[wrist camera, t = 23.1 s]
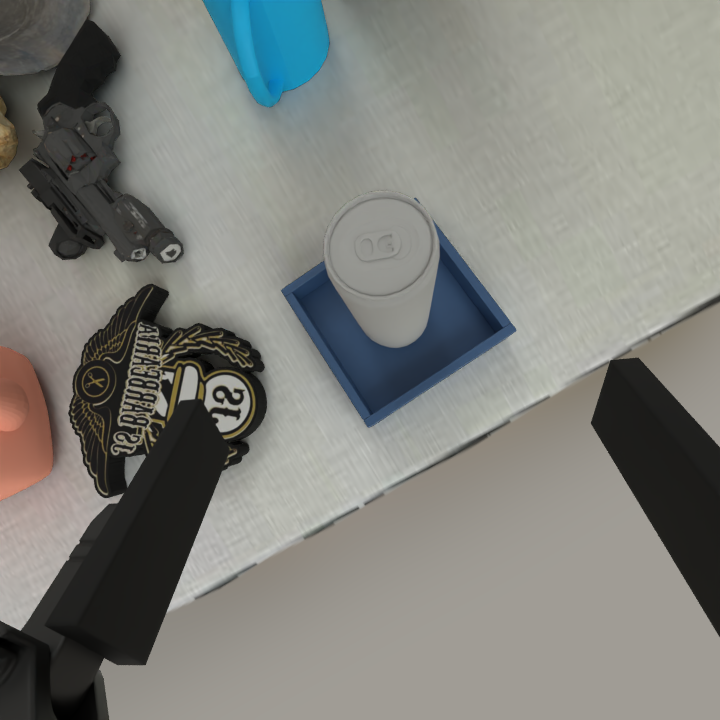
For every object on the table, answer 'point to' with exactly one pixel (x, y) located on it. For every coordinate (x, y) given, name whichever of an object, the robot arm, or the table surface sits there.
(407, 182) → the table surface
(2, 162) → the ginger root
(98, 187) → the revolver
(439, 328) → the blue tray
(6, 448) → the teapot
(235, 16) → the mug
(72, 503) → the table surface
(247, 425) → the emblem
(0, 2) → the bowl
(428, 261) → the beverage can
